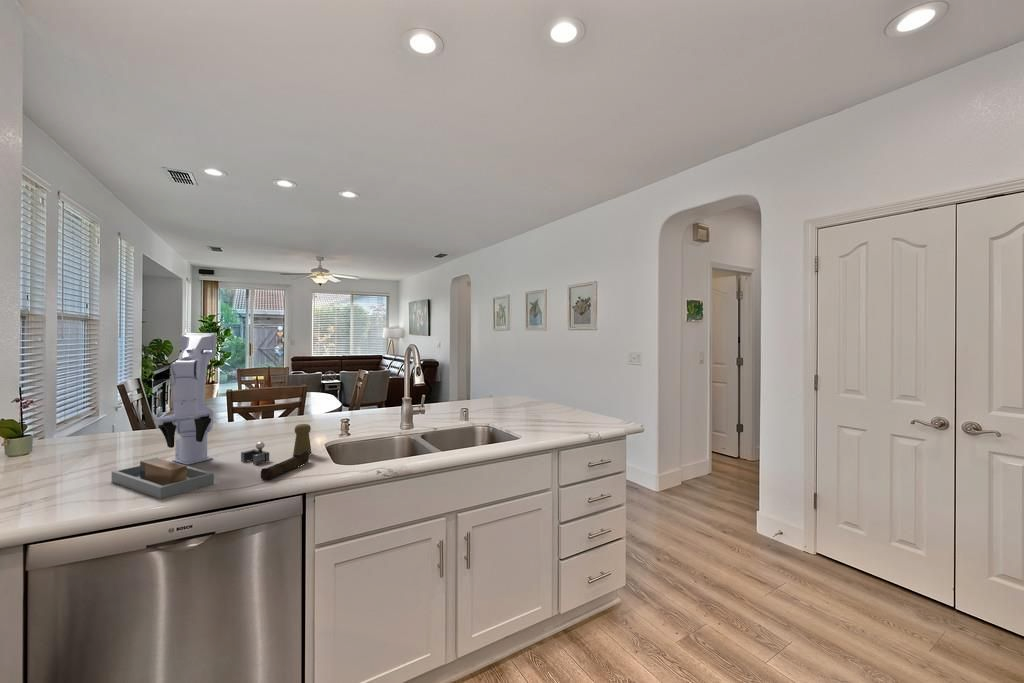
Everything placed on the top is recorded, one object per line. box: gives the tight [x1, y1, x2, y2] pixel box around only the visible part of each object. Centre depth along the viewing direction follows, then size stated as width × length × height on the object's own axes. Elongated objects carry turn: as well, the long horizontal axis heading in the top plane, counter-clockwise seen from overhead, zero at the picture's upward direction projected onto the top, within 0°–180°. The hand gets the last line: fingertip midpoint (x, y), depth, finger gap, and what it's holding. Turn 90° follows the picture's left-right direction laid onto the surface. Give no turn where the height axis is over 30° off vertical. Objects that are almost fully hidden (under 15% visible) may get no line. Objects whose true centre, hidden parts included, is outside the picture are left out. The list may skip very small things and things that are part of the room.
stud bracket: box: [240, 441, 270, 465], centre depth 144 cm, size 8×5×6 cm, turn 64°
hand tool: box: [260, 451, 310, 481], centre depth 135 cm, size 19×4×5 cm, turn 166°
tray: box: [111, 460, 215, 500], centre depth 122 cm, size 26×13×3 cm, turn 64°
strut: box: [139, 457, 188, 486], centre depth 122 cm, size 4×16×5 cm, turn 64°
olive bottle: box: [292, 423, 312, 456], centre depth 152 cm, size 6×6×11 cm
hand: (185, 444), depth 129 cm, fingers open, 7 cm apart
